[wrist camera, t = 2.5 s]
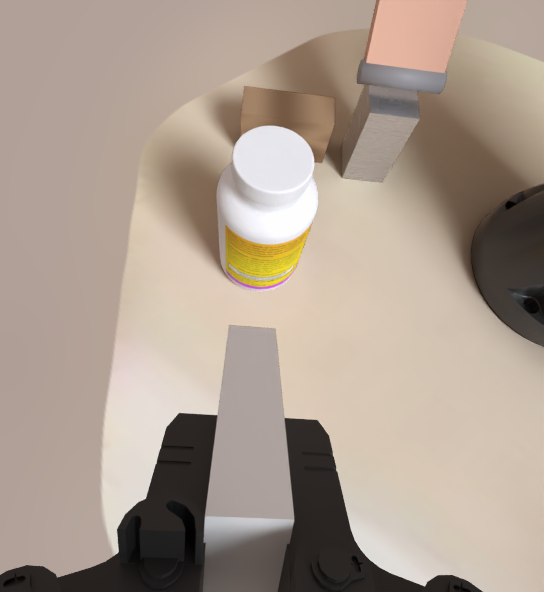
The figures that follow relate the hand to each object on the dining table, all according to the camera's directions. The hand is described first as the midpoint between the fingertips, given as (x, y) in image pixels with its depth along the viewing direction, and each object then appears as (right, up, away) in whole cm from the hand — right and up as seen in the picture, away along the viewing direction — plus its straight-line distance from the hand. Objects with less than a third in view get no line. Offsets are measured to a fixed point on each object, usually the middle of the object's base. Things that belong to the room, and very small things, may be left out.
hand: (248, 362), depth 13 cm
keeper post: (+10, +15, +25) cm, 31 cm away
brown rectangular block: (+2, +17, +25) cm, 30 cm away
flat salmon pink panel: (+11, +23, +15) cm, 30 cm away
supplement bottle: (0, +5, +21) cm, 22 cm away
